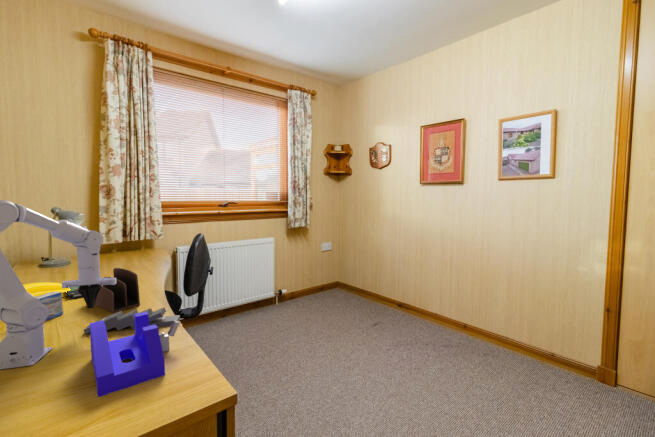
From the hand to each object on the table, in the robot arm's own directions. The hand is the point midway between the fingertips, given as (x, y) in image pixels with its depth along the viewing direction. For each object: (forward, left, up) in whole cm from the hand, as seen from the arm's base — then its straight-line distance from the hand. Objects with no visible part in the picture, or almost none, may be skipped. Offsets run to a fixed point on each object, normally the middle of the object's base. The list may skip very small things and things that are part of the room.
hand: (91, 307), depth 103 cm
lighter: (-21, -26, -8) cm, 34 cm away
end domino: (0, -16, -7) cm, 18 cm away
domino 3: (0, -8, -7) cm, 11 cm away
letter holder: (+26, +2, -8) cm, 28 cm away
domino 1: (0, +1, -7) cm, 7 cm away
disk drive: (+47, +21, -9) cm, 52 cm away
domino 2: (0, -3, -7) cm, 8 cm away
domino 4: (0, -12, -7) cm, 14 cm away
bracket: (-28, -17, -8) cm, 34 cm away
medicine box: (+17, +20, -8) cm, 27 cm away
